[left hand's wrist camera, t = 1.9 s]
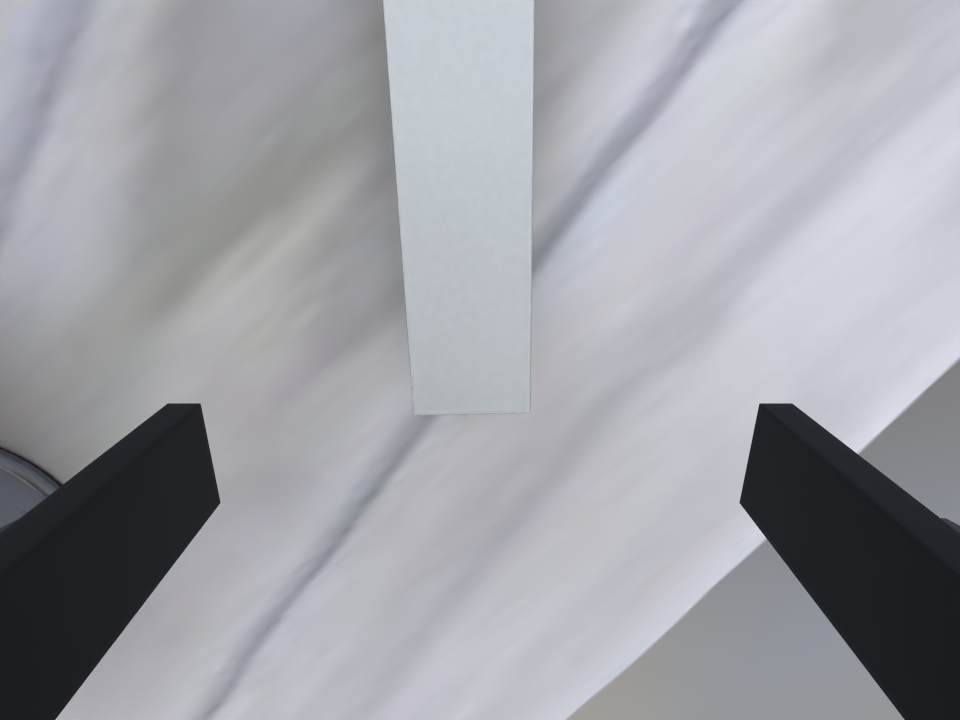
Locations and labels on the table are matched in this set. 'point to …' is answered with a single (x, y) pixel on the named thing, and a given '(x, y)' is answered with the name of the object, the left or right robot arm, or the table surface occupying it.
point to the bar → (464, 198)
